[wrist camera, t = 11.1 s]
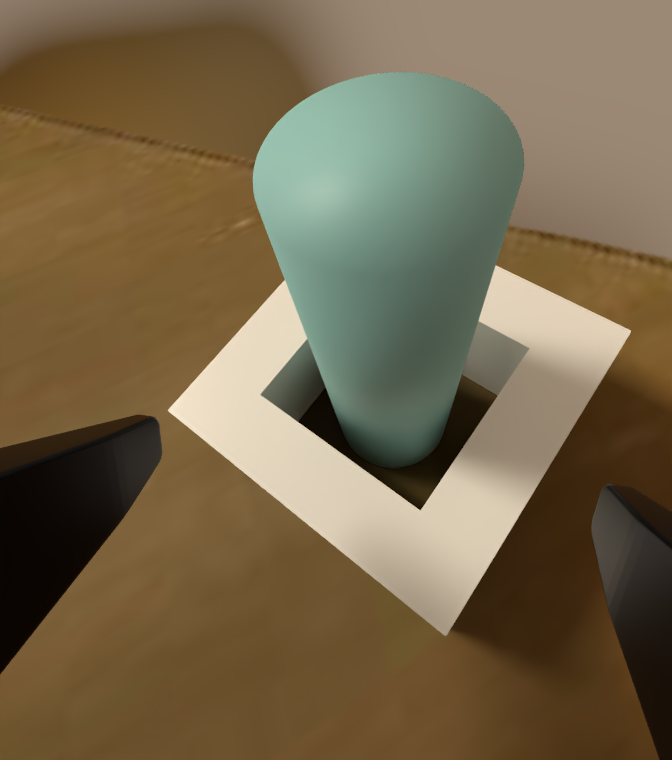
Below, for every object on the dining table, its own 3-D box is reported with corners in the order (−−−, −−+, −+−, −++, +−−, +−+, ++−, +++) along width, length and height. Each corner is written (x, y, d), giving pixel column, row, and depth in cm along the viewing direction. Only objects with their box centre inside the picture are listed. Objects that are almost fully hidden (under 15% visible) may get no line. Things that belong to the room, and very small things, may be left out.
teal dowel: (466, 436, 19) (585, 188, 7) (371, 487, 18) (321, 320, 6) (411, 352, 20) (429, 40, 9) (323, 398, 20) (216, 138, 8)
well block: (580, 384, 19) (631, 330, 15) (433, 622, 16) (445, 636, 12) (365, 267, 23) (357, 198, 18) (215, 445, 20) (167, 410, 16)
